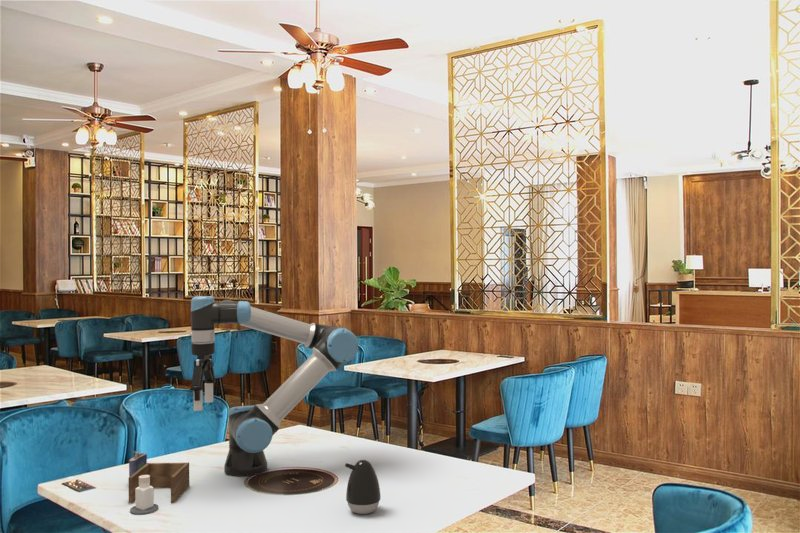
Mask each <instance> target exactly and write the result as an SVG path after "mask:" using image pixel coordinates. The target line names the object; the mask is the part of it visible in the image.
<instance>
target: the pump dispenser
mask: <svg viewBox="0 0 800 533" xmlns="http://www.w3.org/2000/svg"><path fill="white" fill-rule="evenodd" d="M344 466H345V467H346V469H347V468H348V469H350V470H351V471H350V474H349V478H348V480H347V486H346V494H345V500H346V502H347V505H348V508H349V509H350V510H351V511H352V512H353V513H355V514H358V515H368V514H369V515H370V514H372V513H373V512H374V511H376V510H377V508H378V506H379V504H380V500H381V488H380V483H379V478H378V476H377V473H376V471H375V468H374V466H373V465H372V463H371V462H370V461H368V460H367V459H359V460H357V461H356V462H355V464H352V463H345V465H344Z"/></svg>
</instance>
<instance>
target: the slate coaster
mask: <svg viewBox="0 0 800 533" xmlns="http://www.w3.org/2000/svg"><path fill="white" fill-rule="evenodd" d="M158 510H159V505H158V504H156V503H154V506H153V507H151V508H148V509H146V510H141V509H137V508H136V507H135V505H134V506H132V507H130V510H129V513H130V514H132V515H135V516H136V515H137V516H139V515H142V516H143V515H148V514H152V513H156V512H157V511H158Z"/></svg>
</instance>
